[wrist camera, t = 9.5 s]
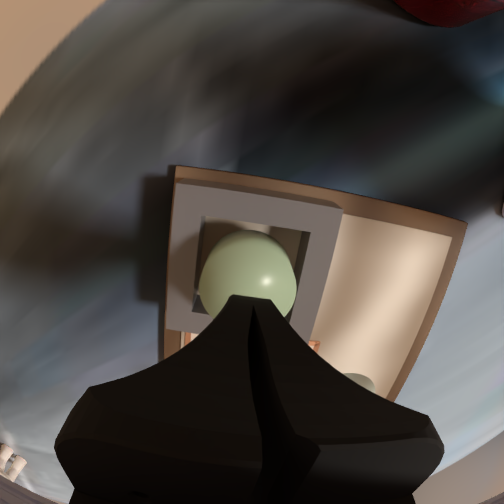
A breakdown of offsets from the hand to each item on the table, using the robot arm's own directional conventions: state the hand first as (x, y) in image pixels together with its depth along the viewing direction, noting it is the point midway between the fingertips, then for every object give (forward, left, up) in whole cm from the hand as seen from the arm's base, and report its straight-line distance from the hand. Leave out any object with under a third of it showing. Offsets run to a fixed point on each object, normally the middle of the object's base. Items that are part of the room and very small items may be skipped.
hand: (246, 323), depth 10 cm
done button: (0, 0, -4) cm, 4 cm away
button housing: (0, 0, -6) cm, 6 cm away
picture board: (-4, +5, -6) cm, 9 cm away
